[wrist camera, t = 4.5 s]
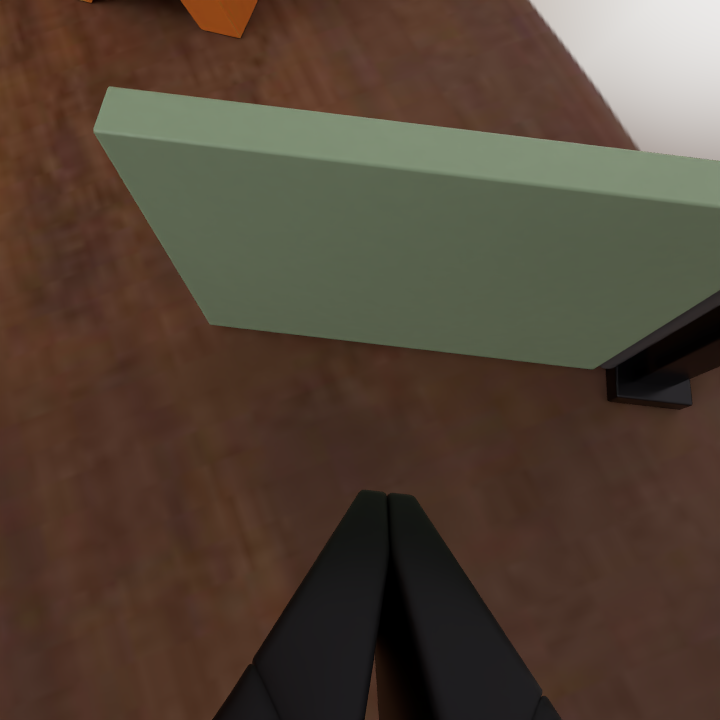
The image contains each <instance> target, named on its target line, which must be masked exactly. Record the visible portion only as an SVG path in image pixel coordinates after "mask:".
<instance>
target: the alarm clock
mask: <svg viewBox="0 0 720 720" xmlns="http://www.w3.org/2000/svg"><path fill="white" fill-rule="evenodd" d="M81 1H86V2H90V3H92V2H93V0H81ZM180 1H181V2H182V3H183V5H184V6H185V7H186V9H187V10H188V12H189V13H190V14H191V16H192V17H193V19H194V20H195V21H196V23H197V24H198V25H199V27H200V28H201V29H202V30H206V31H210V32H215V33H219V34H223V35H228V36H232V37H236V38H241V36H242V34H243V31H244V29H245V27H246V25H247V23H248V21H249V18H250V16H251V14H252V12H253V10H254V8H255V6H256V3H257V1H258V0H180Z"/></svg>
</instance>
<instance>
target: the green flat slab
mask: <svg viewBox="0 0 720 720" xmlns="http://www.w3.org/2000/svg"><path fill="white" fill-rule="evenodd" d="M94 134H95V135H96V137H97V139H98V140H99V142H100V143H101V145H102V147H103V148H104V150H105V152H106V153H107V155H108V157H109V158H110V160H111V162H112V163H113V165H114V167H115V168H116V170H117V172H118V173H119V175H120V177H121V178H122V180H123V181H124V183H125V185H126V186H127V188H128V190H129V191H130V193H131V195H132V196H133V198H134V200H135V201H136V203H137V205H138V206H139V208H140V210H141V211H142V213H143V215H144V216H145V218H146V219H147V221H148V223H149V224H150V226H151V228H152V229H153V231H154V233H155V234H156V236H157V238H158V239H159V241H160V243H161V244H162V246H163V248H164V249H165V251H166V253H167V254H168V256H169V257H170V259H171V261H172V262H173V264H174V266H175V267H176V269H177V271H178V272H179V274H180V276H181V277H182V279H183V281H184V282H185V284H186V286H187V287H188V289H189V291H190V292H191V294H192V295H193V297H194V299H195V300H196V302H197V304H198V305H199V307H200V309H201V310H202V312H203V314H204V315H205V317H206V319H207V320H208V322H209V324H211V325H218V326H227V327H235V328H244V329H252V330H261V331H269V332H278V333H286V334H295V335H303V336H312V337H320V338H329V339H337V340H346V341H354V342H363V343H371V344H380V345H388V346H397V347H405V348H414V349H422V350H431V351H439V352H448V353H456V354H465V355H473V356H482V357H490V358H499V359H507V360H516V361H524V362H533V363H541V364H550V365H558V366H567V367H575V368H584V369H595V368H596V367H598V366H600V367H602V368H605V369H611V368H614V367H615V366H617V365H619V364H621V363H622V362H624V361H626V360H627V359H629V358H631V357H632V356H634V355H636V354H638V353H639V352H641V351H643V350H644V349H646V348H648V347H650V346H651V345H653V344H655V343H656V342H658V341H660V340H661V339H663V338H665V337H667V336H668V335H670V334H672V333H673V332H675V331H677V330H678V329H680V328H682V327H684V326H685V325H687V324H689V323H690V322H692V321H694V320H696V319H697V318H699V317H701V316H702V315H704V314H706V313H707V312H709V311H711V310H713V309H714V308H716V307H718V306H719V305H720V161H716V160H708V159H700V158H692V157H683V156H675V155H667V154H659V153H651V152H643V151H635V150H627V149H618V148H610V147H602V146H594V145H586V144H577V143H569V142H561V141H553V140H545V139H536V138H528V137H520V136H512V135H504V134H495V133H487V132H479V131H471V130H463V129H454V128H446V127H438V126H430V125H422V124H413V123H405V122H397V121H389V120H381V119H372V118H364V117H356V116H348V115H340V114H331V113H323V112H315V111H307V110H299V109H290V108H282V107H274V106H266V105H258V104H249V103H241V102H233V101H225V100H217V99H208V98H200V97H192V96H184V95H176V94H167V93H159V92H151V91H143V90H135V89H126V88H118V87H108V89H107V92H106V95H105V98H104V100H103V103H102V106H101V109H100V112H99V115H98V117H97V120H96V123H95V126H94Z"/></svg>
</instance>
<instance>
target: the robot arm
mask: <svg viewBox="0 0 720 720" xmlns="http://www.w3.org/2000/svg"><path fill="white" fill-rule="evenodd" d="M374 655H375V664H376V679H377V695H378V711H379V720H562V719H561V718H560V716H559V714H558V713H557V711H556V710H555V708H554V707H553V705H552V704H551V702H550V701H549V699H548V698H547V697H546V696H542V697H541V695H542V689H541V688H540V686H539V684H538V683H537V681H536V680H535V678H534V677H533V675H532V674H531V672H530V671H529V669H528V668H527V666H526V665H525V663H524V662H523V660H522V659H521V657H520V656H519V654H518V653H517V651H516V650H515V648H514V647H513V645H512V644H511V642H510V641H509V639H508V638H507V636H506V635H505V633H504V631H503V630H502V628H501V627H500V625H499V624H498V622H497V621H496V619H495V618H494V616H493V615H492V613H491V612H490V610H489V609H488V607H487V606H486V604H485V603H484V601H483V600H482V598H481V597H480V595H479V594H478V592H477V591H476V589H475V588H474V586H473V585H472V583H471V581H470V580H469V578H468V577H467V575H466V574H465V572H464V571H463V569H462V568H461V566H460V565H459V563H458V562H457V560H456V559H455V557H454V556H453V554H452V553H451V551H450V550H449V548H448V547H447V545H446V544H445V542H444V541H443V539H442V538H441V536H440V535H439V533H438V532H437V530H436V528H435V527H434V525H433V524H432V522H431V521H430V519H429V518H428V516H427V515H426V513H425V512H424V510H423V509H422V507H421V506H420V504H419V503H418V501H417V500H416V498H415V497H414V496H412V495H407V494H398V493H390V494H388V496H386V494H385V493H384V492H380V491H371V490H361V491H360V492H359V493H358V495H357V496H356V498H355V499H354V501H353V503H352V504H351V506H350V507H349V509H348V510H347V512H346V514H345V515H344V517H343V518H342V520H341V521H340V523H339V525H338V526H337V528H336V529H335V531H334V532H333V534H332V536H331V537H330V539H329V540H328V542H327V543H326V545H325V546H324V548H323V550H322V551H321V553H320V554H319V556H318V557H317V559H316V561H315V562H314V564H313V565H312V567H311V568H310V570H309V572H308V573H307V575H306V576H305V578H304V579H303V581H302V583H301V584H300V586H299V587H298V589H297V590H296V592H295V594H294V595H293V597H292V598H291V600H290V601H289V603H288V604H287V606H286V608H285V609H284V611H283V612H282V614H281V615H280V617H279V619H278V620H277V622H276V623H275V625H274V626H273V628H272V630H271V631H270V633H269V634H268V636H267V637H266V639H265V641H264V642H263V644H262V645H261V647H260V648H259V650H258V652H257V653H256V655H255V656H254V658H253V661H252V664H250V665H248V667H247V668H246V670H245V671H244V673H243V674H242V676H241V678H240V679H239V681H238V682H237V684H236V685H235V687H234V688H233V690H232V692H231V693H230V695H229V696H228V698H227V699H226V700H225V702H224V703H223V705H222V706H221V708H220V709H219V711H218V712H217V714H216V715H215V717H214V718H213V719H212V720H364V719H365V713H366V706H367V700H368V693H369V687H370V680H371V674H372V668H373V661H374Z"/></svg>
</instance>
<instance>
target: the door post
mask: <svg viewBox="0 0 720 720" xmlns="http://www.w3.org/2000/svg"><path fill="white" fill-rule="evenodd" d="M719 366H720V305H719V306H718V307H716V308H714V309H713V310H711V311H709V312H707V313H706V314H704V315H702V316H701V317H699V318H697V319H696V320H694V321H692V322H690V323H689V324H687V325H685V326H684V327H682V328H680V329H678V330H677V331H675V332H673V333H672V334H670V335H668V336H667V337H665V338H663V339H661V340H660V341H658V342H656V343H655V344H653V345H651V346H650V347H648V348H646V349H644V350H643V351H641V352H639V353H638V354H636V355H634V356H632V357H631V358H629V359H627V360H626V361H624V362H622V363H621V364H619V365H617V366H615V367H614V368H611V369H606V381H607V399H608V401H610V402H618V403H627V404H635V405H644V406H652V407H661V408H669V409H678V410H680V409H683V408H686V407H689V406H692V396H691V387H690V379H691V378H693V377H696V376H698V375H700V374H703V373H705V372H707V371H710V370H712V369H714V368H717V367H719Z"/></svg>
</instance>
